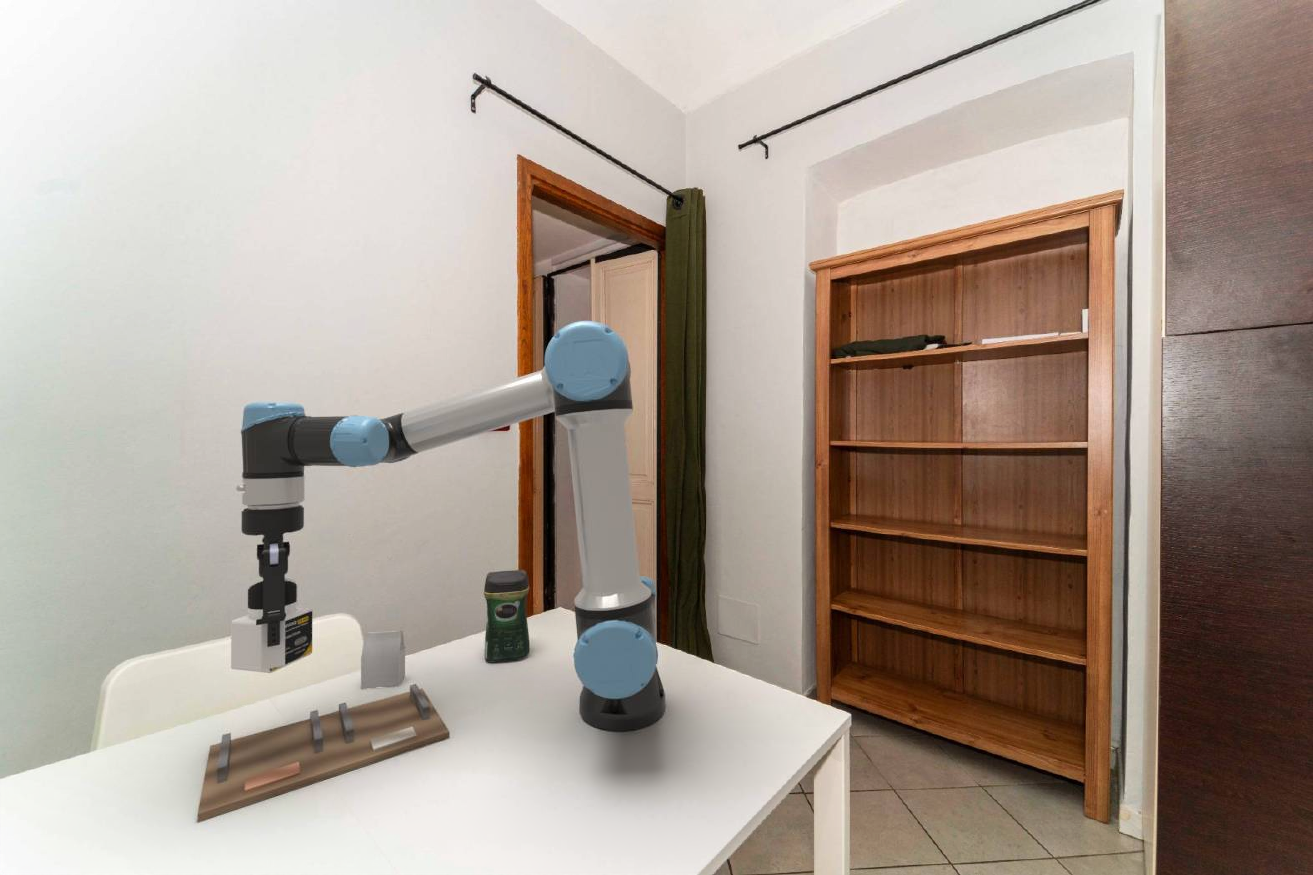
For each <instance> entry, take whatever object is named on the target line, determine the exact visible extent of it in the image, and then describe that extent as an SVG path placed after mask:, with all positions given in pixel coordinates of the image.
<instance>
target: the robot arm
mask: <svg viewBox="0 0 1313 875" xmlns="http://www.w3.org/2000/svg"><path fill="white" fill-rule="evenodd" d="M631 372H632V371H631V364H630V361H629V353H628V348H627V346H626V344H625V342H624V341H623V339H622V338H621V336H620V335H619V334H617V332H615V331H614V330H613V329H611V328H610V327H609V326H608V325H605V324H604V323H600V322H598V321H592V320H579V321H575V322H572V323H569V324H567V325H565V326H564V327H561V328H560V329H559V330H558V331H557V332H556V333H555V334H554V335H553V337H552V338H551V339H550V341H549V342H548V345H547V347H546V349H545V353H544V365H543V368H542V369H541V370H538V371H535V372H532V373H529V374H525V375H522V376H518V377H515V378H512V379H508V380H506V381H502V382H498V383H496V384H493V385H489V386H485V387H482V388H479V389H477V390H473V391H470V392H466V393H464V394H459V395H456V396H453V397H450V398H447V399H444V400H440V401H437V402H434V403H430V404H428V405H427V404H426V405H423V406H421V407H417V408H414V409H411V410H407V411H404V412H401V413H398V414H393V415H391V416H388V417H385V418H380V419H379V418H378V417H375V416H364V415H349V416H348V415H343V416H342V415H341V416H339V415H337V416H312V415H311V416H310V415H309V416H308V415H306V414H305V412H306V411H305V408H304V406H303V405H301V404H299V403H292V402H269V401H268V402H267V401H265V402H264V401H259V402H250V403H248V404H246V405H245V406H244V408H243V414H242V422H241V423H242V424H241V425H242V426H241V430H240V434H241V449H242V450H241V451H242V452H241V454H242V455H241V456H242V474H241V478H242V481H241V482H242V484H238V485H237V486H236V491H237V492H243V493H242V494H241V498H242V499H241V504H242V505H243V506H247V507H246V508H244V509H243V510H242V511H241V533H242V534H243V535H246V536H252V537H253V536H255V537H256V536H262V539H261V542H262V543H261V544H257V545H256V560H258V575H259V577H260V578H262V579H263V580H262V581H263V616H262V619H258V620H256V625H261V670H265V669H270V668H275V667H279V666H284V665H285V618H286V613H285V578H286V574H288V572H289V571H288V570H289V556H290V553H291V544H290V541H284V535H285V534H286V533H287V534H288V533H289V534H290V533H291V534H292V533H295V532H299V531H301V530H302V529H304V527H305V525H304V524H305V516H304V515H305V514H304V513H305V507H303V505H301V503H303V502H304V501H305V467H312V466H315V467H317V466H318V467H349V468H357V467H358V468H359V467H361V468H362V467H366V466H369V467H370V466H376V465H378V464H382V463H384V464H393V463H394V464H395V463H398V462H402V461H404V460H407V459H409V458H410V457H411V456H414V455H416V454H419V453H423V452H426V451H428V450H432V449H435V448H439V447H442V446H446V445H448V444H453V443H455V442H459V441H463V440H465V439H469V438H471V437H475V436H479V435H482V434H484V433H490V432H492V431H496V430H498V429H502V428H504V427H508V426H511V425H515V424H519V423H521V422H525V421H528V420H531V419H535V418H539V417H541V416H544V415H549V414H550V413H554V412H555V413H554V414H555V419H556V421H558V422H559V423H560V424H561V425H562V426H564V427H565V428H566V430H567V438H568V439H567V440H568V441H567V442H568V449H569V450H568V451H569V461H570V469H571V479H572V490H573V491H572V492H573V500H574V501H573V502H574V510H575V512H574V513H575V519H576V521H575V522H576V531H577V540H578V542H577V543H578V550H579V559H580V560H579V561H580V572H581V581H582V588H581V590H580V591H579V593H577V595H576V596H575V598H574V600H573V605H574V616H575V625H576V636H577V641H576V643H575V646H574V649H573V650H574V652H573V663H574V665H573V666H574V669H575V673H576V676H577V677H578V678H577V679H579V681H580V682H581V684H582V685H583V686H582V688H581V692H580V693H579V700H578V701H579V707H578V709H579V715H580V716H581V718H582V719H583V721H585V723H587V724H588V725H591V726H592V727H595V728H598V729H601V730H606V731H614V732H621V731H622V732H624V731H625V732H626V731H634V730H639V729H642V728H646V727H648V726H651V725H652V724H654V723H656V722H658V720H659V719H661V718H662V716H664V713H665V711H666V693H665V689H664V686H663V684H662V683H663V682H662V680H661V676H660V673H659V671H658V667H657V664H658V661H659V651H658V647H657V628H656V627H657V625H656V624H657V623H656V620H657V619H656V618H657V617H656V597H657V593H658V592H656V583H655V581H654V580H653V578H650V577H648V576H643V575H642V576H641V575H640V568H639V559H638V557H639V556H638V549H637V548H638V547H637V538H636V529H635V527H636V526H635V520H634V519H635V518H634V509H633V498H632V488H631V479H630V478H631V476H630V469H629V468H630V466H629V458H628V457H629V456H628V449H627V448H628V447H627V439H626V438H627V437H626V436H627V435H626V429H625V428H626V426H625V424H626V421H628V419H629V417H630V416H631V415H632V414H633V412H634V409H633V408H634V406H633V397H632V396H633V395H632V387H631V375H632V374H631ZM277 610H279V611H278V612H272V613H268V612H271V611H277ZM267 613H268V614H267Z"/></svg>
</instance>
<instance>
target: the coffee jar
mask: <svg viewBox="0 0 1313 875" xmlns="http://www.w3.org/2000/svg"><path fill="white" fill-rule="evenodd" d="M484 582H485V583H484V589H483V596H484V599H485V602H486V626H485V634H484V635H485V638H484V650H483V651H484V653H483V654H484V659H485V660H486V661H488V662H489V663H490V662H491V663H501V662H511V661H516V660H520V659H524V658H525V657H527V656H528V654H530V648H531V647H530V634H529V626H528V624H529V623H528V616H527V615H528V613H527V598H528V595H529V591H530V584H529V579H528V574H527V571H526V570H525V569H517V570H516V569H515V570H513V569H512V570H501V571H490V572H488V573H487V575H486V577H485V581H484Z"/></svg>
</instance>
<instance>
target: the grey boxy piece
mask: <svg viewBox="0 0 1313 875" xmlns="http://www.w3.org/2000/svg"><path fill="white" fill-rule="evenodd" d="M363 637H364V638H363V644H362V650H361V657H360V690H368V689H367V688H371V689H377V688H376V687H385V688H397V687H398V688H399V687H400V686H401V684H402V683H403V682H404V680H405V679H406V646H405V642H404V640H405V639H404V634H403V630H392V631H391V630H389V631H374V632H373V631H372V632H370V631H369V632H365V633H364V636H363ZM404 678H405V679H404ZM401 682H402V683H401ZM399 685H400V686H399Z"/></svg>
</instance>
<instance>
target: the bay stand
mask: <svg viewBox="0 0 1313 875" xmlns="http://www.w3.org/2000/svg"><path fill="white" fill-rule="evenodd" d="M346 702H347V701H346ZM346 702H343V703H339V704H338V710H337V711H333V712H329V713H326V714H321V715H319V711H318V709H315V710H312V711H309V712H310V713H309V714H310V715H309V716H310V717H309V718H307V719H303V720H301V721H297V722H294V723H289V724H285V725H281V726H277V727H275V728H270V729H266V730H263V731H258V732H256V733H252V734H249V735H244V736H240V737H236V738H234V739H232V732H229V733H225V734H222V735H221V742H219V743H214V744H211V745H209V750H208V754H207V760H206V767H205V772H204V777H203V784H202V788H201V793H200V799H199V805H198V810H197V823H200V822H202V821H206V820H208V819H212V818H215V817H217V816H221V815H224V814H227V813H230V812H232V811H236V810H239V809H241V808H245V807H247V806H251V805H253V804H256V803H260V802H262V801H265V800H269V799H271V798H273V797H278V796H280V795H283V794H287V793H289V792H292V791H295V790H298V789H301V788H304V787H306V786H310V785H313V784H317V783H319V782H322V781H325V780H327V779H331V778H333V777H337V776H340V775H343V774H346V773H349V772H351V771H354V770H357V769H358V770H359V769H360V768H363V767H366V766H369V765H370V766H371V765H372V764H375V763H379V762H381V761H384V760H388V759H390V758H393V757H396V756H399V755H402V754H405V753H408V752H412V751H414V750H417V749H420V748H424V747H425V746H429V745H431V744H435V743H438V742H441V741H444V740H448V739H450V730H449V728H448V727H447V725H446V724H445V722H444V720H443V718H442V717H441V716H440V714H439V712H438V711H437V709H436V708H435V707H434V704H433V703H432V702H431V700H430V698H429V697H428V696H427V694H426V692H425V690H424V689H423V688H422V687H421V688H419V687H418V685H417V683H415V684H414V683H413V684H410V685H409V691H406V692H403V693H400V694H396V695H392V696H388V697H384V698H382V699H378V700H373V701H370V702H366V703H363V704H359V705H356V706H351V707H348V704H347V703H346Z"/></svg>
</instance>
